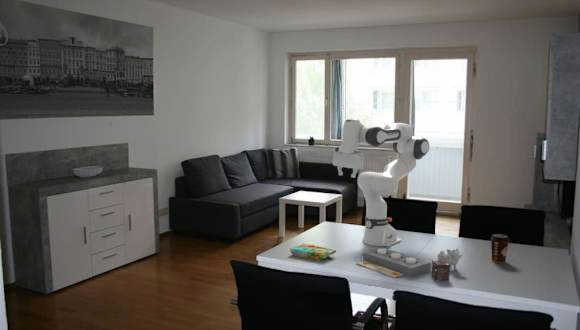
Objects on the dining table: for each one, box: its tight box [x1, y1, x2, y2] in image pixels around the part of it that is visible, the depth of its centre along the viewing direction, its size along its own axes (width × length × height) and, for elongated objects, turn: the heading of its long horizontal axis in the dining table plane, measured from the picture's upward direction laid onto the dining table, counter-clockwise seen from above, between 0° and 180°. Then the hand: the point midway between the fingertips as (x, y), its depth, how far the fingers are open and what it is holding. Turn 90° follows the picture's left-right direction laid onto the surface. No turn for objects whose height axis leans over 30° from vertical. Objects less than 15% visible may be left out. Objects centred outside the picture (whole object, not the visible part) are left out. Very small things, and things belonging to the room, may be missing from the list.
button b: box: [391, 252, 401, 259], centre depth 244 cm, size 4×4×3 cm
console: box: [362, 247, 432, 278], centre depth 244 cm, size 14×30×4 cm, turn 37°
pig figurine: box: [437, 247, 463, 272], centre depth 239 cm, size 5×13×11 cm, turn 32°
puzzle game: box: [289, 243, 337, 261], centre depth 257 cm, size 12×5×20 cm
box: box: [431, 260, 451, 282], centre depth 226 cm, size 6×6×7 cm
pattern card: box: [356, 260, 405, 279], centre depth 237 cm, size 6×24×1 cm, turn 37°
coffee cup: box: [490, 233, 511, 264], centre depth 252 cm, size 9×8×13 cm
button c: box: [406, 256, 416, 264], centre depth 236 cm, size 4×4×3 cm
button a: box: [376, 247, 387, 255], centre depth 251 cm, size 4×4×3 cm
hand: (346, 176), depth 266 cm, fingers open, 8 cm apart
